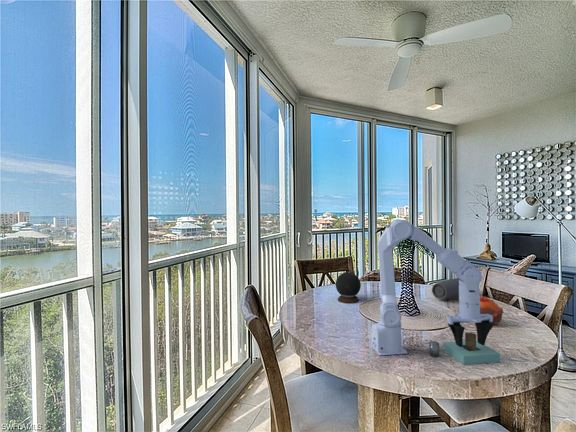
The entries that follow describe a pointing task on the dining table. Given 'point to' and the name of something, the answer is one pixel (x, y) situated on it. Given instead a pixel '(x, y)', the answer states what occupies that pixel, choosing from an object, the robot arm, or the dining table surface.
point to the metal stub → (434, 349)
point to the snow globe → (348, 287)
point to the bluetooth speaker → (446, 289)
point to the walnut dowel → (470, 341)
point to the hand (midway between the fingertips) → (470, 344)
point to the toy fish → (490, 309)
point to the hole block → (471, 353)
